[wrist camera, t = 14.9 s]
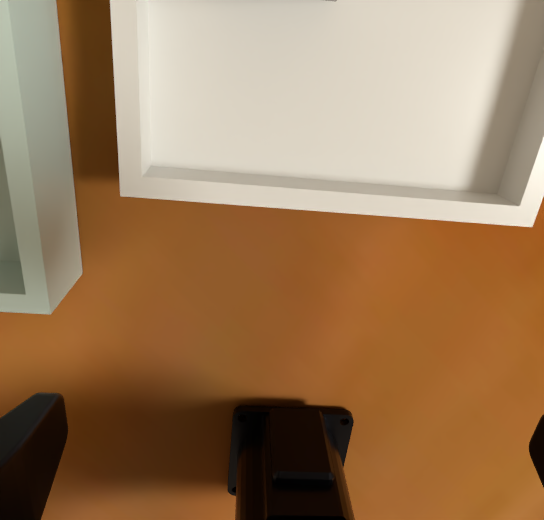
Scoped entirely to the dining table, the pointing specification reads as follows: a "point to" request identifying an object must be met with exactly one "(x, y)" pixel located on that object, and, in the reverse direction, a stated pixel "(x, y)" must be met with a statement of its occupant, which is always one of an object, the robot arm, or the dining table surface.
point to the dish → (35, 163)
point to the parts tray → (334, 105)
